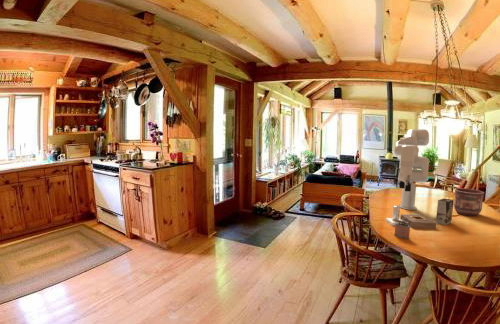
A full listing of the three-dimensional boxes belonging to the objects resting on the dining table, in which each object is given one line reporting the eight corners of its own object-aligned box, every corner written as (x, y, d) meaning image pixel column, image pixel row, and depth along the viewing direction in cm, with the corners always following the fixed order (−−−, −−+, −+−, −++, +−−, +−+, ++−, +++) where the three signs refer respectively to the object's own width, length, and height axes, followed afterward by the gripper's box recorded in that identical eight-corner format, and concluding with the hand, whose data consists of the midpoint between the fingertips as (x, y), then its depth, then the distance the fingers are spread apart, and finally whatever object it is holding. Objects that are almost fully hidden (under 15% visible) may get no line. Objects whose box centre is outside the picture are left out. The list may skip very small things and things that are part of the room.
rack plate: (400, 219, 193) (400, 213, 193) (422, 220, 192) (422, 214, 191) (412, 227, 177) (412, 221, 177) (436, 228, 176) (436, 222, 176)
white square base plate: (385, 220, 191) (385, 217, 191) (398, 221, 190) (398, 218, 190) (391, 225, 181) (392, 222, 181) (405, 226, 180) (406, 223, 180)
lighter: (410, 238, 161) (411, 221, 159) (408, 239, 158) (409, 223, 157) (395, 234, 166) (396, 218, 165) (393, 235, 164) (394, 219, 163)
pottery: (487, 218, 197) (490, 193, 195) (460, 216, 201) (462, 192, 199) (473, 211, 215) (475, 188, 213) (448, 209, 218) (450, 187, 216)
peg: (391, 219, 188) (392, 205, 186) (397, 219, 187) (398, 205, 186) (393, 221, 184) (394, 207, 182) (399, 221, 183) (401, 207, 182)
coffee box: (446, 225, 182) (448, 202, 180) (435, 222, 187) (437, 199, 185) (451, 222, 187) (454, 200, 185) (441, 220, 192) (443, 198, 190)
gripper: (395, 162, 188) (393, 186, 190) (405, 165, 171) (403, 192, 173) (407, 162, 187) (405, 187, 189) (418, 166, 170) (416, 192, 172)
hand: (404, 189), depth 181 cm, fingers open, 9 cm apart
